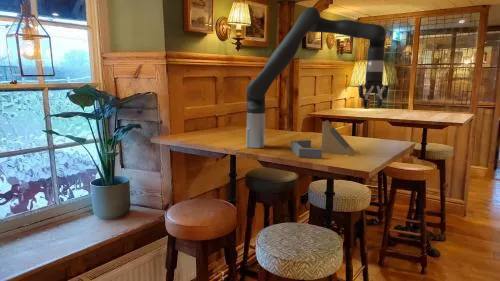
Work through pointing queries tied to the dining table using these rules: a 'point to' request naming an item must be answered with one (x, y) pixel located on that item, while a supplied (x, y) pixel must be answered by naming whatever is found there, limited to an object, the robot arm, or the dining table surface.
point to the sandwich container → (334, 141)
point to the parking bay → (305, 149)
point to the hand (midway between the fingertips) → (371, 107)
